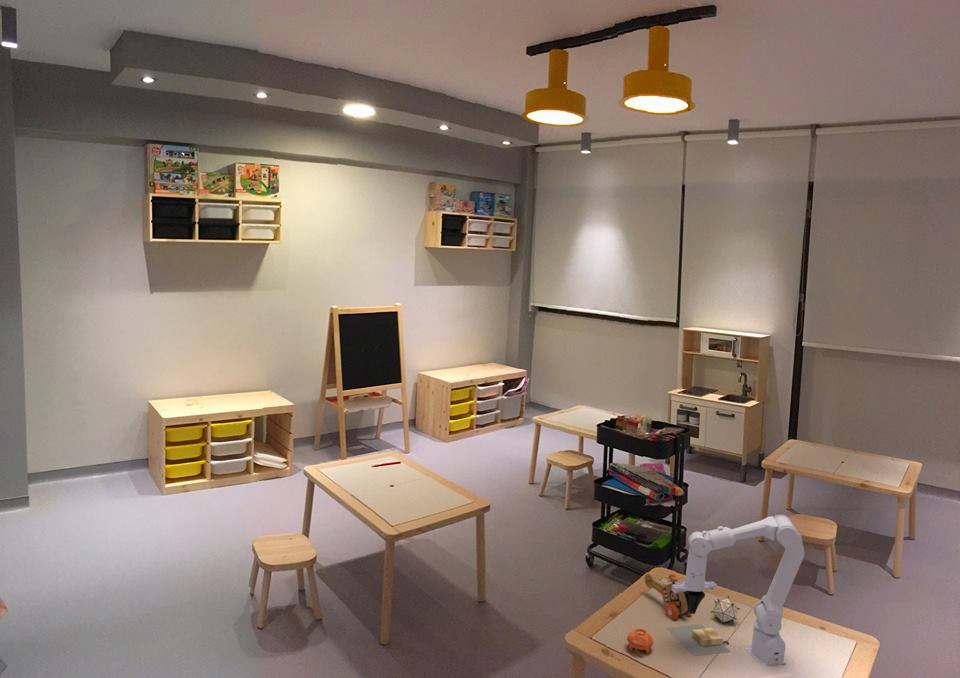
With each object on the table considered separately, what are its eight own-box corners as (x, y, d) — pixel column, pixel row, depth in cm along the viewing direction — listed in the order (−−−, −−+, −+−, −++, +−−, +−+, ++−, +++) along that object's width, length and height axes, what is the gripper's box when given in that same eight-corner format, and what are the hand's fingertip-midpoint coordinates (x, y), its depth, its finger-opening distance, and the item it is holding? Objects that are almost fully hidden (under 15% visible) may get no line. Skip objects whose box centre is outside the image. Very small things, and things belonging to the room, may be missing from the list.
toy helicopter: (676, 624, 230) (680, 585, 229) (635, 595, 249) (639, 558, 247) (694, 619, 234) (698, 581, 232) (653, 591, 252) (656, 555, 251)
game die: (729, 633, 233) (746, 620, 227) (706, 624, 233) (722, 610, 227) (727, 610, 240) (744, 596, 234) (705, 600, 240) (721, 586, 234)
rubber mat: (730, 653, 215) (730, 651, 215) (693, 657, 212) (693, 656, 212) (701, 625, 231) (701, 624, 230) (666, 629, 227) (666, 627, 227)
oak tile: (702, 646, 217) (721, 644, 219) (703, 640, 217) (722, 638, 219) (691, 636, 223) (710, 634, 225) (692, 630, 222) (711, 627, 224)
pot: (635, 658, 209) (634, 635, 210) (623, 650, 216) (622, 627, 217) (659, 655, 211) (657, 632, 212) (646, 646, 219) (645, 624, 219)
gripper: (709, 563, 222) (704, 603, 224) (668, 566, 218) (664, 607, 220) (722, 574, 215) (717, 615, 217) (680, 577, 211) (676, 619, 213)
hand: (691, 612), depth 218 cm, fingers closed
